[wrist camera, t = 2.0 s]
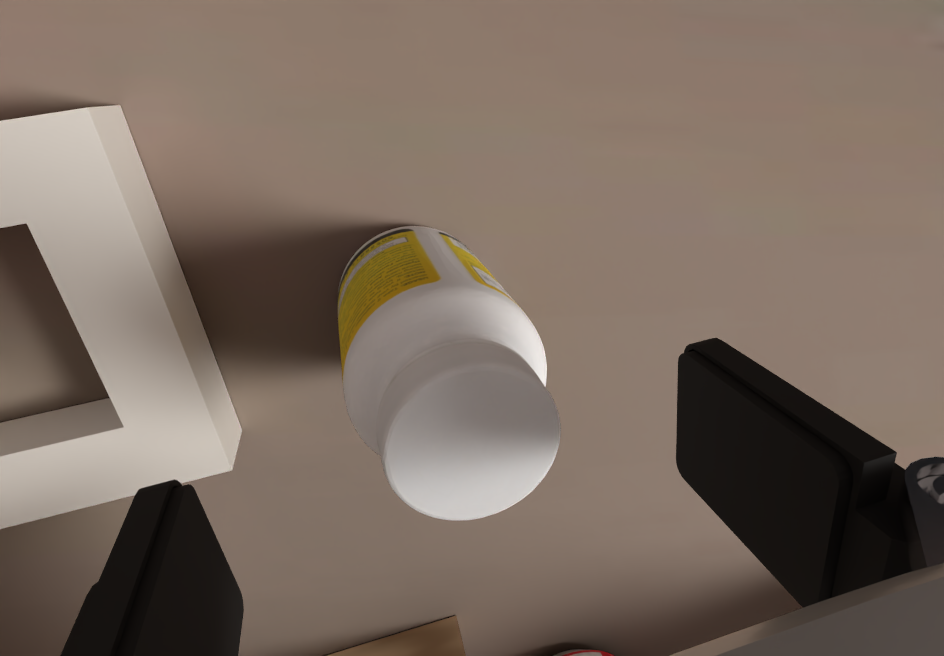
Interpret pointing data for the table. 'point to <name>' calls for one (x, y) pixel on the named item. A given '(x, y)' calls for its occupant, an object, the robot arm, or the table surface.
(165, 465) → the socket block
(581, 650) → the soda can
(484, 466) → the supplement bottle
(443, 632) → the small wooden stool
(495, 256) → the table surface
